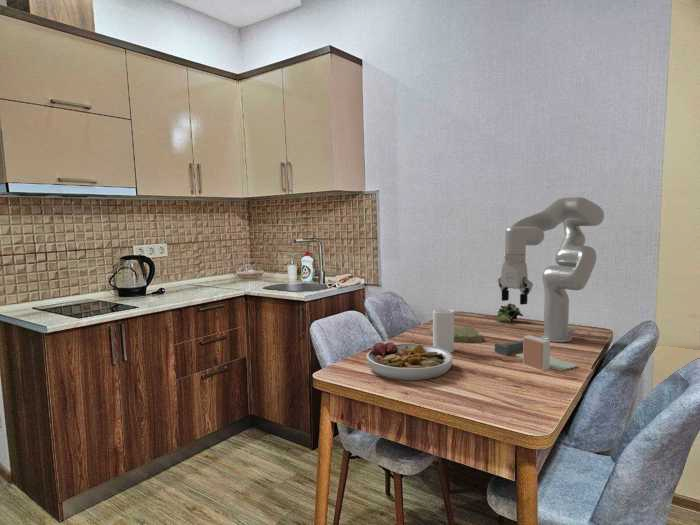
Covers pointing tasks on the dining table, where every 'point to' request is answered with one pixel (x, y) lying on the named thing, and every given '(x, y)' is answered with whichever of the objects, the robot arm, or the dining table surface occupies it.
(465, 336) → the decorative tile
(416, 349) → the bowl
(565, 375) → the dining table surface
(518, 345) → the grey t-shaped block
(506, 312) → the green leafy plant
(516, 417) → the dining table surface
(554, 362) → the mat
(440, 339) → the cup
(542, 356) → the tile
